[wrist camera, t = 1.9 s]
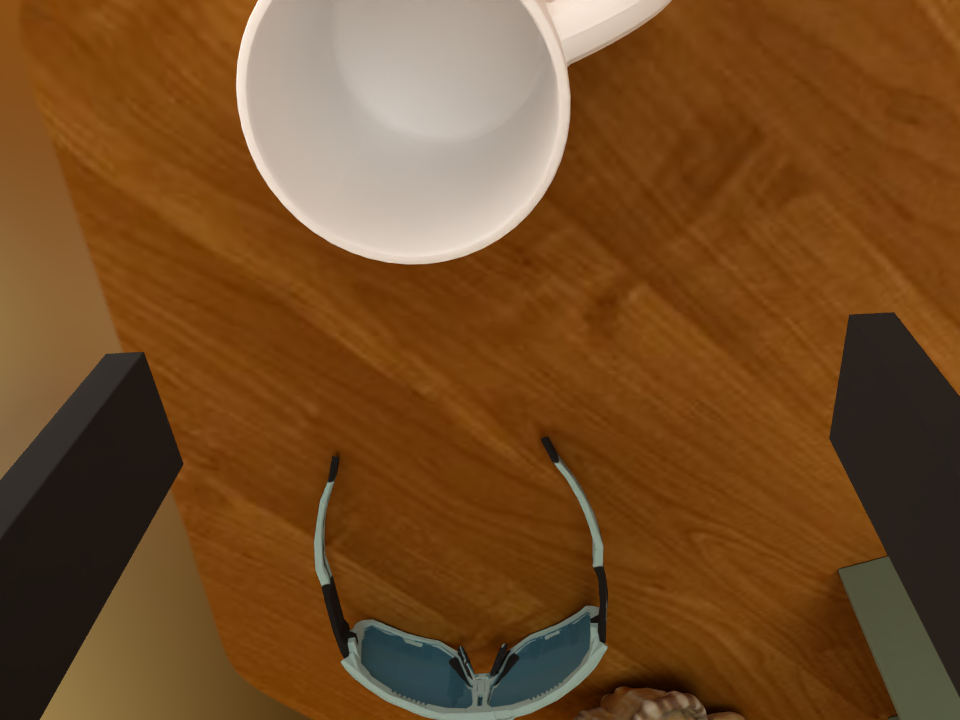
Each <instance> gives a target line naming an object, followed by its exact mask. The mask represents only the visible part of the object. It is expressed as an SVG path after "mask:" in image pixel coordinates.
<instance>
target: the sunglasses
mask: <svg viewBox="0 0 960 720" xmlns="http://www.w3.org/2000/svg"><path fill="white" fill-rule="evenodd" d="M541 441H542V443H543V445H544V447H545V449H546V450H547V452H548V454H549V456H550V458H551V460H552V462H553V463H554V464H555V465H556V467H557V468H558V469H559V470H560V472H561V473H562V474H563V475H564V477H565V478H566V480H567V481H568V482H569V484H570V486H571V488H572V489H573V491H574V493H575V495H576V496H577V498H578V500H579V502H580V504H581V507H582V509H583V512H584V514H585V516H586V520H587V522H588V525H589V528H590V531H591V534H592V538H593V553H592V554H593V557H592V558H593V568H594V570H595V572H596V575H597V577H598V582H599V596H600V607H596V606H585V607H584V608H583V609H582V610H580V611H579V612H578V613H576V614H574V615H573V616H571V617H569V618H568V619H566V620H564V621H563V622H561V623H559V624H557V625H554V626H552V627H549V628H546V629H544V630H541V631H539V632H536V633H534V634H531V635H529V636H528V637H526V638H525V639H524V640H522V641H521V642H520V643H518V644H517V645H515V646H514V647H513V648H511V649H510V650H508V651H507V652H506V650H507V647H508V644H503V645H502V646H501V648H500V649H499V652H498V654H497V657H496V659H495V661H494V664H493V667H492V669H491V671H490V673H482V674H474V671H473V669H472V666H471V663H470V660H469V658H468V655H467V653H466V651H465V650H464V648H463V647H462V646H460V647H459V648H457V649H458V652H457V651H456V650H454V649H452V648H451V647H449V646H447V645H445V644H444V643H442V642H440V641H438V640H433V639H428V638H423V637H419V636H415V635H411V634H407V633H405V632H402V631H400V630H397V629H395V628H392V627H390V626H387V625H385V624H382V623H380V622H377V621H375V620H373V619H372V620H362V621H360V622H357V623H356V624H355V626H354V628H353V629H352V630H350V628H349V624H348V623H347V622H346V621H345V620H344V617H343V613H342V609H341V605H340V602H339V598H338V594H337V590H336V586H335V583H334V579H333V576H332V573H331V570H330V566H329V564H328V561H327V558H326V555H325V541H324V535H325V533H324V530H325V516H326V510H327V505H328V501H329V498H330V495H331V492H332V488H333V485H334V481H335V478H336V475H337V471H338V464H339V457H335V456H332V462H331V467H330V473H329V479H328V482H327V485H326V487H325V490H324V492H323V495H322V497H321V500H320V505H319V511H318V517H317V524H316V531H315V540H314V551H315V569H316V573H317V575H318V578H319V580H320V583H321V586H322V590H323V595H324V599H325V603H326V607H327V611H328V614H329V618H330V622H331V625H332V629H333V633H334V635H335V638H336V641H337V644H338V646H339V649H340V652H341V653H342V655H343V657H344V659H343V660H342V661H341V664H342V665H343V666H344V668H345V669H346V670H347V672H348V673H349V674H350V675H351V676H352V677H353V678H354V679H355V680H357V681H358V682H359V683H361V684H362V685H363V686H365V687H366V688H367V689H369V690H370V691H372V692H373V693H375V694H376V695H378V696H379V697H381V698H382V699H384V700H385V701H387V702H389V703H392V704H394V705H397V706H399V707H401V708H404V709H406V710H408V711H411V712H413V713H415V714H418V715H420V716H423V717H428V718H432V719H437V720H514V718H516V717H519V716H523V715H526V714H530V713H532V712H534V711H536V710H538V709H541V708H543V707H545V706H547V705H549V704H551V703H553V702H555V701H557V700H559V699H560V698H561V697H563V696H564V695H565V694H567V693H568V692H570V691H571V690H572V689H574V688H575V687H576V686H578V685H579V684H580V683H581V682H582V681H583V680H584V679H585V678H586V677H587V676H588V675H589V674H590V673H591V672H592V671H593V670H594V669H595V668H596V666H597V665H598V663H599V661H600V660H601V658H602V656H603V655H604V653H605V651H606V650H607V648H608V647H607V646H606V644H605V641H606V621H607V619H606V617H607V606H608V589H607V582H606V575H605V571H604V566H603V543H602V537H601V533H600V530H599V527H598V523H597V520H596V517H595V514H594V512H593V510H592V508H591V506H590V503H589V501H588V499H587V497H586V495H585V493H584V491H583V489H582V487H581V485H580V484H579V482H578V481H577V479H576V478H575V477H574V475H573V474H572V473H571V471H570V470H569V468H568V467H567V466H566V464H565V463H564V462H563V460H562V459H561V457H560V456H559V455H558V453H557V452H556V450H555V448H554V446H553V444H552V443H551V441H550V439H549V437H544V438H542V439H541ZM505 652H506V654H505ZM504 655H505V656H504Z"/></svg>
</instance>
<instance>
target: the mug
mask: <svg viewBox="0 0 960 720" xmlns="http://www.w3.org/2000/svg"><path fill="white" fill-rule="evenodd" d="M671 1H672V0H258V2H257V4H256V6H255V8H254V10H253V12H252V14H251V16H250V18H249V20H248V23H247V26H246V29H245V32H244V35H243V38H242V42H241V47H240V52H239V57H238V62H237V78H236V89H237V103H238V110H239V115H240V120H241V125H242V130H243V133H244V136H245V139H246V142H247V145H248V148H249V151H250V153H251V155H252V157H253V159H254V161H255V164H256V166H257V168H258V170H259V171H260V173H261V175H262V176H263V178H264V180H265V181H266V183H267V184H268V186H269V188H270V189H271V190H272V191H273V193H274V194H275V195H276V196H277V198H278V199H279V200H280V202H281V203H282V204H283V205H284V206H285V207H286V208H287V209H288V210H289V211H290V212H291V213H292V214H293V215H294V216H295V217H296V218H297V219H298V220H299V221H300V222H302V223H303V224H304V225H305V226H307V227H308V228H309V229H310V230H312V231H313V232H314V233H316V234H318V235H319V236H321V237H322V238H324V239H326V240H327V241H329V242H330V243H332V244H334V245H336V246H338V247H341V248H343V249H345V250H347V251H349V252H352V253H355V254H358V255H360V256H363V257H366V258H370V259H374V260H379V261H383V262H388V263H398V264H429V263H437V262H444V261H448V260H452V259H456V258H459V257H463V256H466V255H468V254H471V253H473V252H476V251H478V250H481V249H483V248H485V247H486V246H488V245H490V244H492V243H494V242H495V241H497V240H499V239H500V238H502V237H503V236H504V235H506V234H507V233H508V232H510V231H511V230H512V229H514V228H515V227H516V226H517V225H518V224H519V223H520V222H521V221H522V220H523V219H525V218H526V217H527V216H528V215H529V214H530V213H531V211H532V210H533V209H534V207H535V206H536V205H537V204H538V202H539V201H540V200H541V199H542V197H543V196H544V194H545V192H546V191H547V189H548V187H549V185H550V184H551V182H552V180H553V178H554V176H555V174H556V171H557V169H558V167H559V164H560V162H561V160H562V156H563V153H564V149H565V145H566V142H567V137H568V130H569V123H570V97H571V95H570V87H569V78H568V71H567V67H568V66H569V65H570V64H572V63H574V62H577V61H579V60H581V59H583V58H585V57H587V56H589V55H591V54H593V53H595V52H597V51H599V50H601V49H603V48H605V47H606V46H608V45H610V44H612V43H614V42H615V41H617V40H619V39H621V38H623V37H624V36H626V35H628V34H629V33H631V32H632V31H634V30H636V29H637V28H639V27H640V26H642V25H643V24H645V23H646V22H648V21H649V20H650V19H652V18H653V17H655V16H656V15H657V14H658V13H659V12H660V11H662V10H663V9H664V8H665V7H666V6H667V5H668V4H669V3H670V2H671Z"/></svg>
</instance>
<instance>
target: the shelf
mask: <svg viewBox="0 0 960 720" xmlns="http://www.w3.org/2000/svg"><path fill="white" fill-rule="evenodd" d="M838 572H839V575H840V578H841V581H842V584H843V586H844V589H845V591H846V593H847V596H848V598H849V600H850V603H851V605H852V608H853V610H854V612H855V615H856V617H857V619H858V622H859V624H860V627H861V629H862V631H863V634H864V636H865V638H866V641H867V643H868V646H869V648H870V650H871V653H872V655H873V657H874V660H875V662H876V665H877V667H878V669H879V672H880V674H881V676H882V679H883V681H884V684H885V686H886V688H887V691H888V693H889V695H890V698H891V700H892V703H893V705H894V707H895V710H896V712H897V714H898V716H895V717H891V718H888V720H960V698H959V696H958V694H957V692H956V690H955V688H954V686H953V684H952V682H951V680H950V678H949V676H948V674H947V672H946V670H945V668H944V666H943V664H942V662H941V660H940V658H939V656H938V654H937V652H936V650H935V648H934V646H933V644H932V642H931V640H930V638H929V636H928V634H927V632H926V630H925V628H924V626H923V624H922V622H921V620H920V618H919V616H918V614H917V612H916V610H915V608H914V606H913V604H912V602H911V600H910V598H909V596H908V594H907V592H906V590H905V588H904V586H903V584H902V582H901V580H900V578H899V576H898V574H897V572H896V570H895V568H894V566H893V564H892V562H891V560H890V558H889V556H888V557H884V558H880V559H876V560H873V561H869V562H865V563H861V564H857V565H853V566H850V567H846V568H842V569H839V570H838Z"/></svg>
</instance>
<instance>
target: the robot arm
mask: <svg viewBox="0 0 960 720" xmlns="http://www.w3.org/2000/svg"><path fill="white" fill-rule="evenodd" d="M829 439H830V441H831V443H832V445H833V447H834V449H835V451H836V453H837V455H838V457H839V459H840V461H841V463H842V465H843V467H844V469H845V471H846V473H847V475H848V477H849V479H850V481H851V483H852V485H853V487H854V489H855V491H856V493H857V495H858V497H859V499H860V501H861V503H862V505H863V507H864V509H865V511H866V513H867V515H868V517H869V518H870V520H871V522H872V524H873V526H874V528H875V530H876V532H877V534H878V536H879V538H880V540H881V542H882V544H883V546H884V548H885V550H886V552H887V554H888V556H889V558H890V560H891V562H892V564H893V566H894V568H895V570H896V572H897V574H898V576H899V578H900V580H901V582H902V584H903V586H904V588H905V590H906V592H907V594H908V596H909V598H910V600H911V602H912V604H913V606H914V608H915V610H916V612H917V614H918V616H919V618H920V620H921V622H922V624H923V626H924V628H925V630H926V632H927V634H928V636H929V638H930V640H931V642H932V644H933V646H934V648H935V650H936V652H937V654H938V656H939V658H940V660H941V662H942V664H943V666H944V668H945V670H946V672H947V674H948V676H949V678H950V680H951V682H952V684H953V686H954V688H955V690H956V692H957V694H958V696H959V698H960V397H959V395H958V394H957V393H956V391H955V390H954V389H953V388H952V386H951V385H950V384H949V382H948V381H947V380H946V379H945V377H944V376H943V375H942V373H941V372H940V371H939V370H938V368H937V367H936V366H935V364H934V363H933V362H932V361H931V359H930V358H929V357H928V355H927V354H926V353H925V352H924V350H923V349H922V348H921V346H920V345H919V344H918V343H917V341H916V340H915V339H914V337H913V336H912V335H911V334H910V332H909V331H908V330H907V328H906V327H905V326H904V325H903V323H902V322H901V321H900V319H899V318H898V317H897V316H896V314H895V313H894V312H892V313H873V314H854V315H849V320H848V326H847V332H846V338H845V344H844V351H843V357H842V363H841V369H840V375H839V381H838V388H837V394H836V400H835V406H834V412H833V419H832V425H831V431H830V437H829ZM182 466H183V461H182V458H181V455H180V453H179V450H178V447H177V444H176V441H175V438H174V436H173V433H172V430H171V427H170V424H169V421H168V419H167V416H166V413H165V410H164V407H163V405H162V402H161V399H160V396H159V393H158V390H157V388H156V385H155V382H154V379H153V376H152V374H151V371H150V368H149V365H148V362H147V359H146V357H145V354H144V352H134V353H116V354H106V355H105V356H104V357H103V358H102V359H101V361H100V362H99V363H98V364H97V365H96V367H95V368H94V369H93V370H92V371H91V373H90V374H89V375H88V376H87V377H86V378H85V380H84V381H83V382H82V383H81V385H80V386H79V387H78V388H77V389H76V390H75V392H74V393H73V394H72V395H71V396H70V398H69V399H68V400H67V401H66V402H65V404H64V405H63V406H62V407H61V408H60V409H59V411H58V412H57V413H56V414H55V415H54V417H53V418H52V419H51V420H50V421H49V423H48V424H47V425H46V426H45V427H44V429H43V430H42V431H41V432H40V433H39V435H38V436H37V437H36V438H35V439H34V441H33V442H32V443H31V444H30V445H29V447H28V448H27V449H26V450H25V451H24V452H23V454H22V455H21V456H20V457H19V458H18V460H17V461H16V462H15V463H14V465H13V466H12V467H11V468H10V469H9V470H8V472H7V473H6V474H5V475H4V476H3V478H2V479H1V480H0V720H40V718H41V716H42V715H43V713H44V711H45V709H46V707H47V706H48V704H49V702H50V700H51V698H52V697H53V695H54V693H55V692H56V690H57V688H58V686H59V684H60V683H61V681H62V679H63V677H64V676H65V674H66V672H67V670H68V668H69V667H70V665H71V663H72V661H73V660H74V658H75V656H76V654H77V652H78V650H79V649H80V647H81V645H82V643H83V642H84V640H85V638H86V636H87V635H88V633H89V631H90V629H91V628H92V626H93V624H94V622H95V620H96V619H97V617H98V615H99V613H100V612H101V610H102V608H103V606H104V604H105V603H106V601H107V599H108V597H109V596H110V594H111V592H112V590H113V588H114V586H115V585H116V583H117V581H118V579H119V578H120V576H121V574H122V572H123V571H124V569H125V567H126V565H127V564H128V562H129V560H130V558H131V557H132V555H133V553H134V551H135V549H136V547H137V545H138V544H139V542H140V541H141V539H142V537H143V535H144V533H145V532H146V530H147V528H148V526H149V524H150V523H151V520H152V519H153V517H154V516H155V514H156V512H157V510H158V509H159V507H160V505H161V503H162V501H163V499H164V498H165V496H166V494H167V493H168V491H169V489H170V487H171V485H172V484H173V482H174V480H175V478H176V477H177V475H178V473H179V471H180V469H181V468H182Z"/></svg>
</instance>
